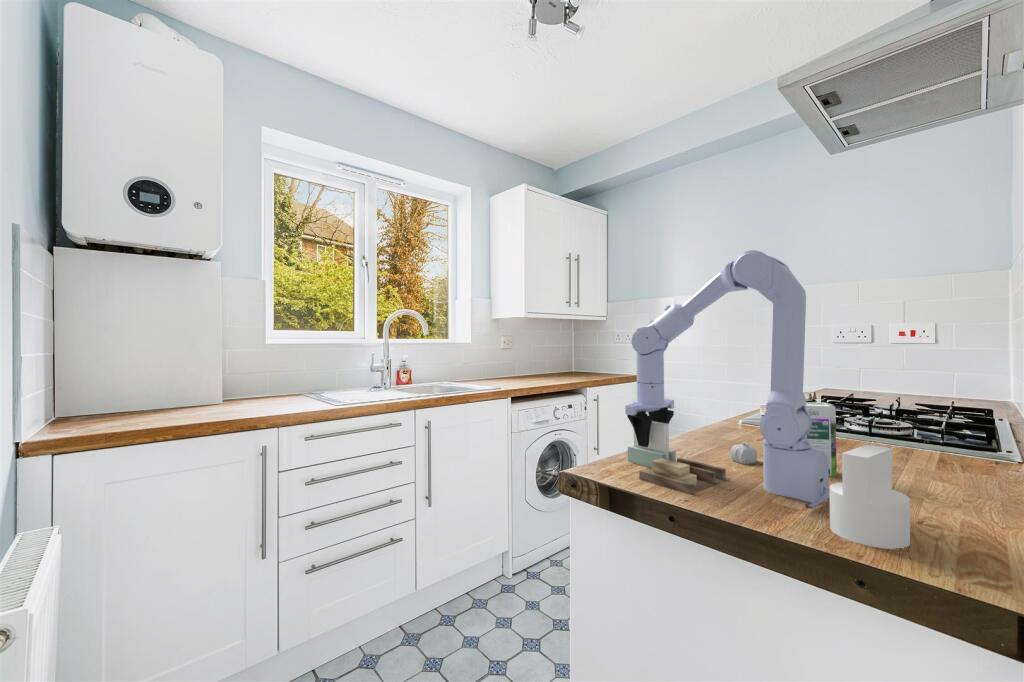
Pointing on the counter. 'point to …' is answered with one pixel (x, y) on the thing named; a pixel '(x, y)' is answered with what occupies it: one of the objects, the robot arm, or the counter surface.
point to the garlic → (743, 453)
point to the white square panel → (657, 438)
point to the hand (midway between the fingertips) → (651, 444)
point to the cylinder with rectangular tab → (869, 501)
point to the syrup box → (823, 432)
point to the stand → (647, 456)
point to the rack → (704, 472)
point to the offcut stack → (674, 470)
